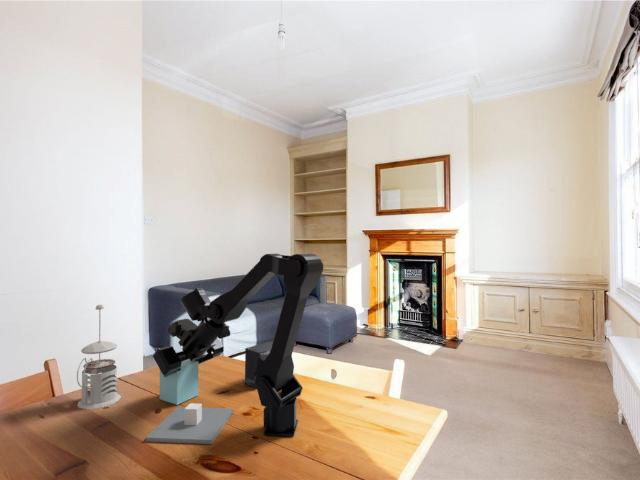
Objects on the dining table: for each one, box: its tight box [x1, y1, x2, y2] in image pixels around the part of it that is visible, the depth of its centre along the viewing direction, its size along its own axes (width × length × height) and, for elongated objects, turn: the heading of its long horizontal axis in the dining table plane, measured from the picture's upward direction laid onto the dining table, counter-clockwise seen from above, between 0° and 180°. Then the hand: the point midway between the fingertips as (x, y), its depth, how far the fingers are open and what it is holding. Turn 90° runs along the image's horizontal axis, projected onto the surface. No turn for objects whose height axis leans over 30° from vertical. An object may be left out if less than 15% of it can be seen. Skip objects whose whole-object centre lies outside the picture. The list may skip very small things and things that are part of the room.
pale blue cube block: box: [159, 359, 199, 405], centre depth 96 cm, size 7×7×9 cm
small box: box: [244, 340, 273, 389], centre depth 107 cm, size 11×6×10 cm, turn 143°
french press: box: [76, 304, 122, 410], centre depth 93 cm, size 10×12×25 cm
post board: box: [145, 403, 235, 445], centre depth 81 cm, size 14×14×4 cm
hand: (175, 371), depth 96 cm, fingers closed on pale blue cube block, 7 cm apart
